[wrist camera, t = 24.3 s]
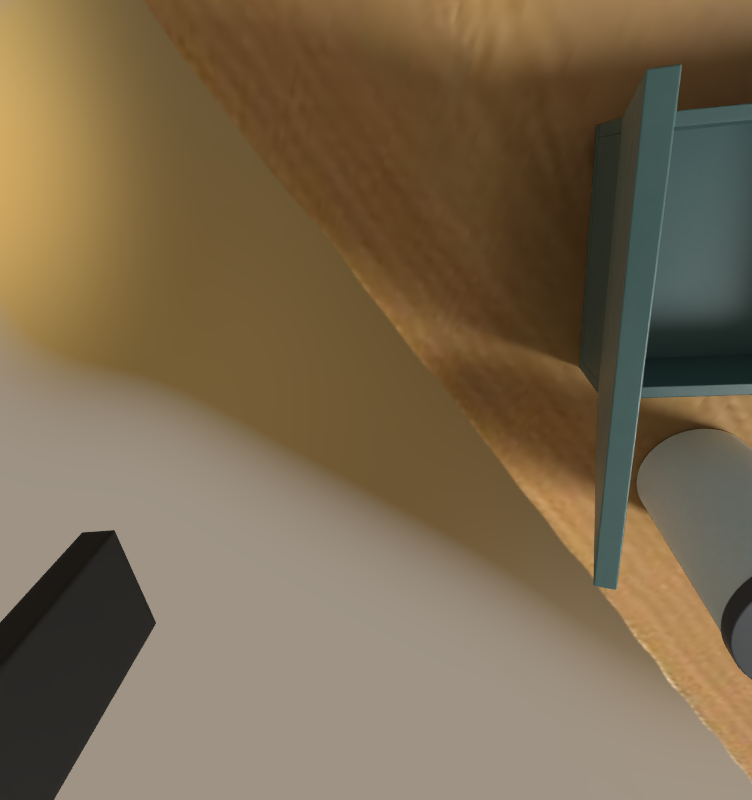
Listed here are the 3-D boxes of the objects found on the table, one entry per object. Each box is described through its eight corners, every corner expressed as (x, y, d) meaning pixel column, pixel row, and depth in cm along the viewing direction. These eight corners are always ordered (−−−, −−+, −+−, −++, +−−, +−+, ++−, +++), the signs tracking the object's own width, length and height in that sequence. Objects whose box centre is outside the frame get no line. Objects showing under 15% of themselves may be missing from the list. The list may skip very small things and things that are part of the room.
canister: (675, 408, 41) (806, 541, 26) (784, 451, 41) (973, 605, 26) (611, 501, 45) (695, 661, 30) (711, 539, 45) (842, 716, 30)
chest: (885, 96, 31) (984, 79, 26) (817, 357, 38) (884, 391, 32) (596, 124, 34) (628, 115, 28) (578, 367, 40) (601, 399, 34)
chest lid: (682, 63, 13) (646, 68, 13) (616, 590, 19) (593, 586, 20) (639, 113, 27) (622, 115, 28) (610, 402, 34) (597, 401, 34)
